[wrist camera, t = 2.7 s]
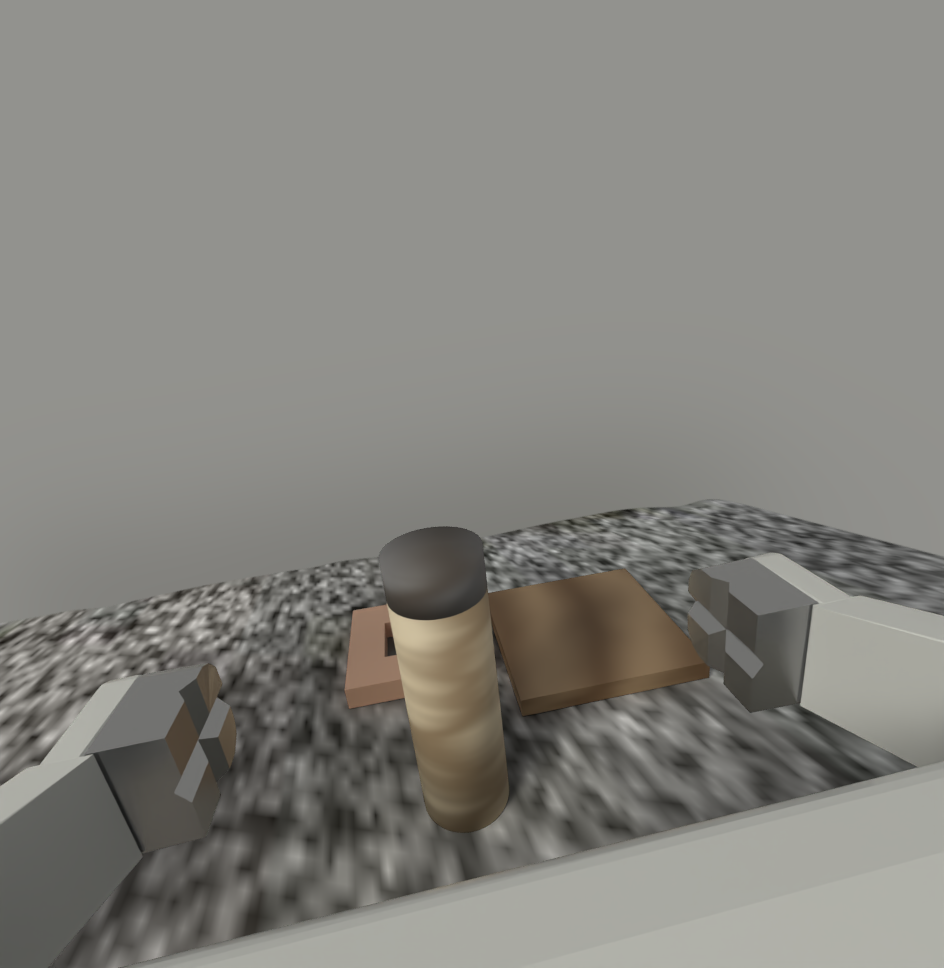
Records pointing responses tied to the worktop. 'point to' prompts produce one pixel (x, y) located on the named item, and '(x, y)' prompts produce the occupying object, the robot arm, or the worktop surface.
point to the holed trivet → (372, 659)
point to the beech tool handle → (448, 672)
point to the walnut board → (588, 641)
